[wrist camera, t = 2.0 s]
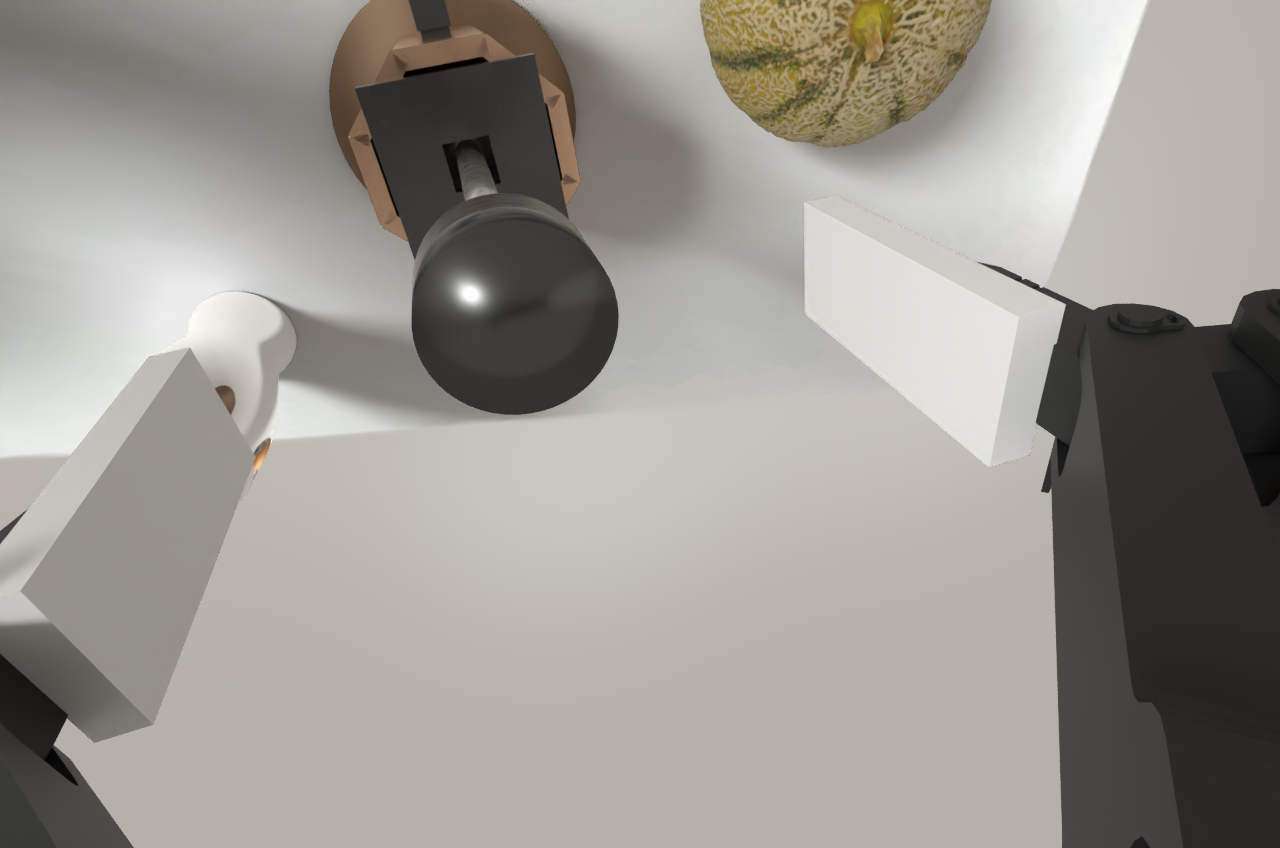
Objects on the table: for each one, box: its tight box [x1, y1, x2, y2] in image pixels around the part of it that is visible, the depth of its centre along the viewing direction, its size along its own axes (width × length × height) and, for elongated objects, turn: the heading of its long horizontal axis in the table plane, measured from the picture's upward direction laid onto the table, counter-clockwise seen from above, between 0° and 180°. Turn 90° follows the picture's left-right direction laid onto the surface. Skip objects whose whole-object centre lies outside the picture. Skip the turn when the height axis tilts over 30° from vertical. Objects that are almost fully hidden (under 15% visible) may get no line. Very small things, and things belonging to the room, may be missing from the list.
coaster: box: [329, 0, 575, 189], centre depth 40 cm, size 14×14×1 cm
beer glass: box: [119, 291, 296, 503], centre depth 37 cm, size 7×7×15 cm
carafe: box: [348, 0, 581, 259], centre depth 33 cm, size 9×12×13 cm
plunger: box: [412, 135, 618, 415], centre depth 23 cm, size 6×6×21 cm
